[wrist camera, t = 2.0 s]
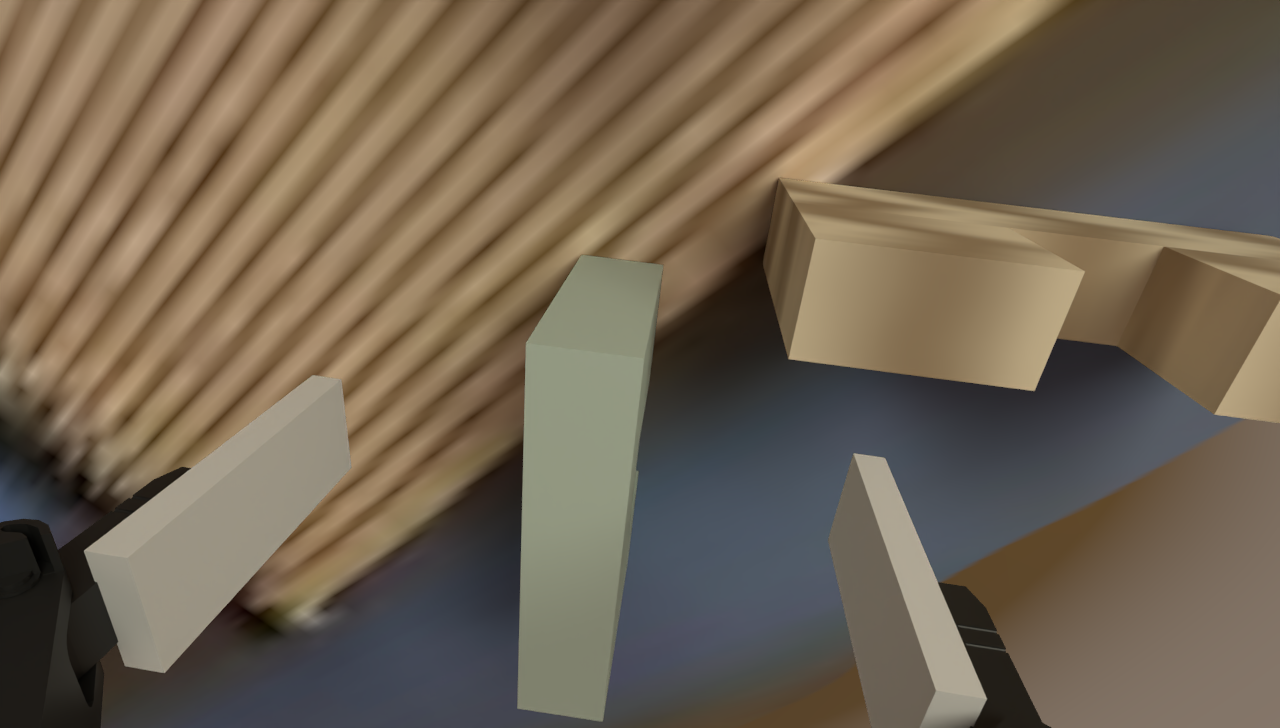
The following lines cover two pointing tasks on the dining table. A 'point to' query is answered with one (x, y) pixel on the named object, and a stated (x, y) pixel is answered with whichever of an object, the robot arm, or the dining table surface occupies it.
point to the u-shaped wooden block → (1021, 292)
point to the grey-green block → (581, 479)
